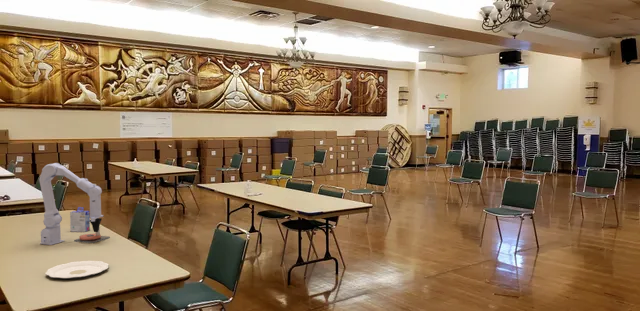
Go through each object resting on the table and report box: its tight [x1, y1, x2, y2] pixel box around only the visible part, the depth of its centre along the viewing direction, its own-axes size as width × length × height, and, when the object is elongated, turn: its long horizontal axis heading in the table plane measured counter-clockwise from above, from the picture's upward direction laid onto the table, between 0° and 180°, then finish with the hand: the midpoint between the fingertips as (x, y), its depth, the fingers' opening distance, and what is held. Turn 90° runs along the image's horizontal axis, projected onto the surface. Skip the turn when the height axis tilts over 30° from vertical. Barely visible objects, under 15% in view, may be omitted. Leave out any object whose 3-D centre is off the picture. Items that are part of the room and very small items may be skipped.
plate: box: [44, 260, 110, 280], centre depth 214 cm, size 25×25×2 cm
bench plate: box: [73, 235, 111, 244], centre depth 274 cm, size 13×13×1 cm
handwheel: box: [78, 226, 102, 240], centre depth 273 cm, size 11×11×6 cm
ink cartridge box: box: [69, 206, 91, 233], centre depth 295 cm, size 10×6×14 cm, turn 89°
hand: (96, 231), depth 270 cm, fingers closed
